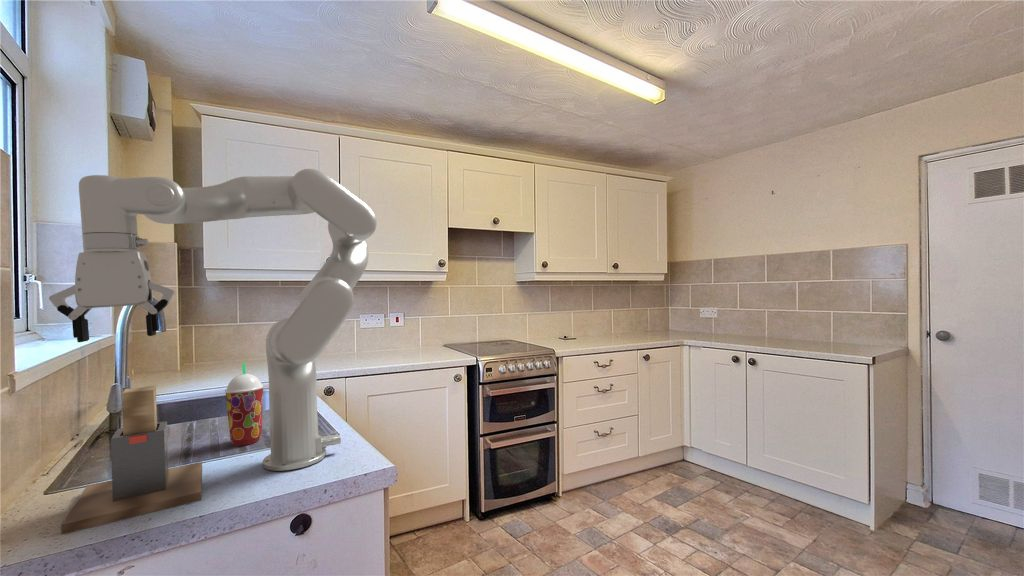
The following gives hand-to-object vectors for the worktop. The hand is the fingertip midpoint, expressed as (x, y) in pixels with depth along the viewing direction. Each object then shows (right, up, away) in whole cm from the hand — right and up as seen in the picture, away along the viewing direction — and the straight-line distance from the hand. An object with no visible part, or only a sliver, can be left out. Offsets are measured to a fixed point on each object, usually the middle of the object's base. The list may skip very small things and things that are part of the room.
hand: (118, 338), depth 80 cm
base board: (+3, -30, +1) cm, 30 cm away
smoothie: (+5, -30, +30) cm, 43 cm away
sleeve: (+3, -28, +1) cm, 28 cm away
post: (+3, -28, +1) cm, 28 cm away
